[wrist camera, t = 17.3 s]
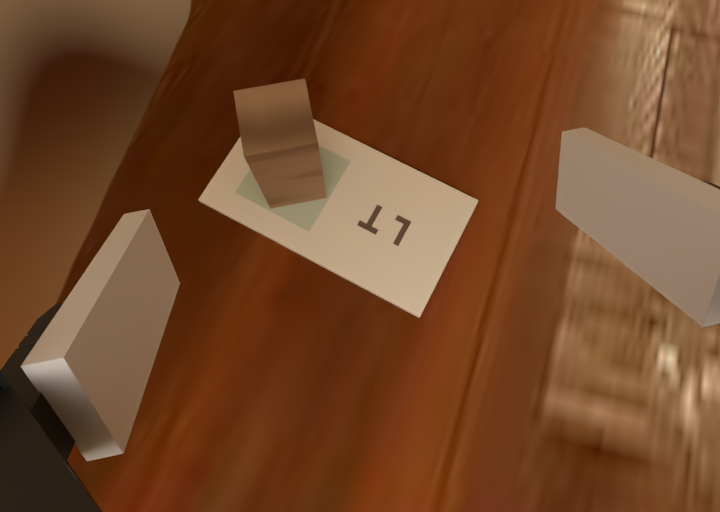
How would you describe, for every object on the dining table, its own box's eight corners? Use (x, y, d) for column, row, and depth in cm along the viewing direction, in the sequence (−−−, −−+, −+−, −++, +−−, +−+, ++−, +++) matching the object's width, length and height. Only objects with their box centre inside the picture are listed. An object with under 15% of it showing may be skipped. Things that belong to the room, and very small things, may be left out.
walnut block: (261, 157, 50) (233, 91, 39) (316, 146, 51) (304, 78, 39) (270, 208, 49) (243, 156, 37) (327, 197, 49) (318, 142, 38)
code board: (268, 99, 53) (266, 96, 52) (477, 202, 50) (478, 200, 49) (199, 201, 50) (197, 199, 49) (418, 318, 47) (419, 317, 46)
